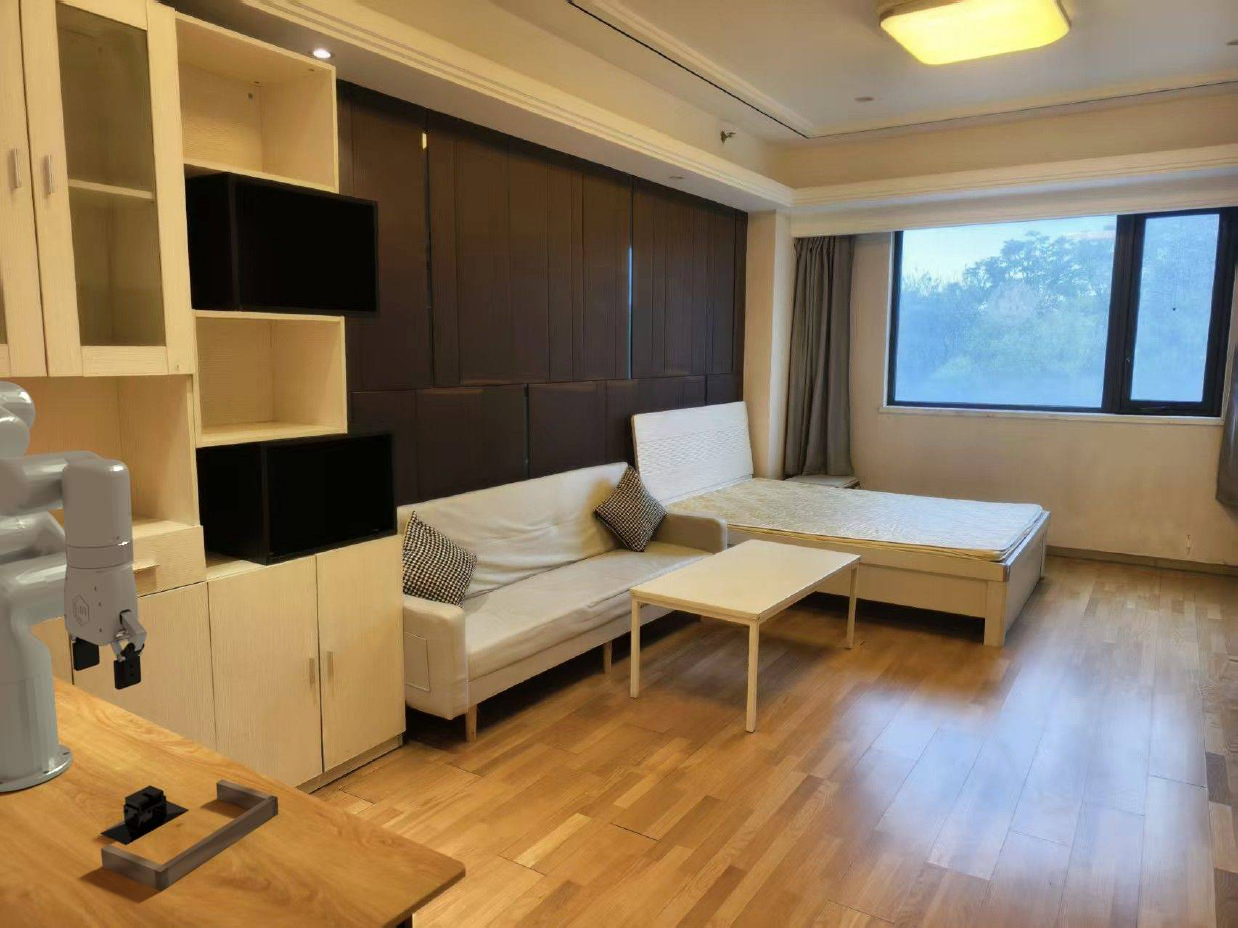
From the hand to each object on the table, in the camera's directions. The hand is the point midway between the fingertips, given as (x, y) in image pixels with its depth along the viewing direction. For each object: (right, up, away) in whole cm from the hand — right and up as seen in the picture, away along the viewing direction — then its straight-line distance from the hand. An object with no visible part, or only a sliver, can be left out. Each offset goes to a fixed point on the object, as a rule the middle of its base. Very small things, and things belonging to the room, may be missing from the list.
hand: (107, 676), depth 113 cm
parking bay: (+13, -20, -3) cm, 24 cm away
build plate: (+5, -21, +1) cm, 21 cm away
